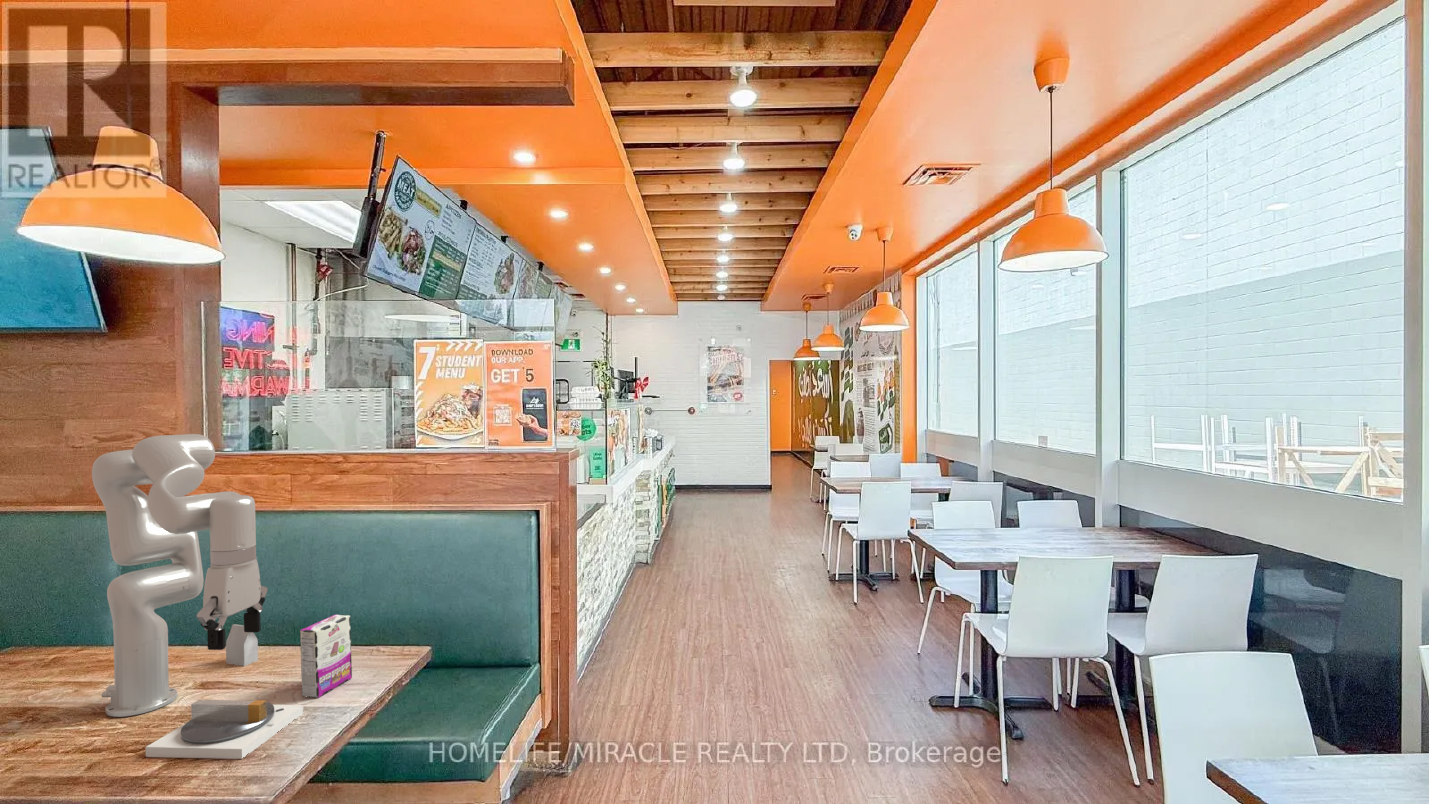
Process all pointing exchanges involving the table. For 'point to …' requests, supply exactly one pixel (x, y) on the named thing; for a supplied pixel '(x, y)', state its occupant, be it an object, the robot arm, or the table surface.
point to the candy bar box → (325, 655)
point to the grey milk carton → (241, 646)
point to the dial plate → (229, 748)
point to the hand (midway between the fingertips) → (235, 640)
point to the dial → (225, 719)
